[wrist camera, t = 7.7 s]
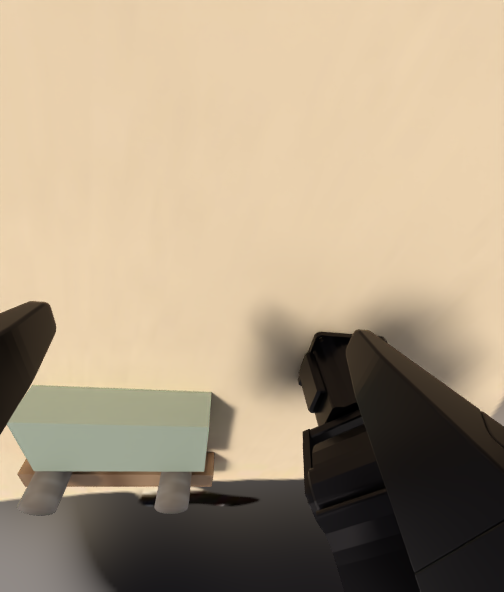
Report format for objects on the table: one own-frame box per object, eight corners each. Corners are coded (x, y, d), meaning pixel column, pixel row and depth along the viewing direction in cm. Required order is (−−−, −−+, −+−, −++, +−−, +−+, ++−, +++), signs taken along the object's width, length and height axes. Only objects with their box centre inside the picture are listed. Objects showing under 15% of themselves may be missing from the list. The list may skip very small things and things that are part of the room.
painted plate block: (211, 388, 28) (209, 427, 24) (206, 433, 32) (204, 471, 29) (34, 381, 25) (5, 422, 22) (55, 430, 30) (33, 471, 26)
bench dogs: (216, 438, 32) (214, 500, 27) (212, 464, 35) (209, 522, 30) (23, 434, 29) (-19, 501, 24) (38, 462, 32) (3, 526, 27)
